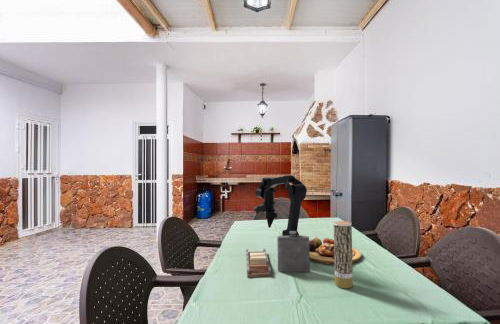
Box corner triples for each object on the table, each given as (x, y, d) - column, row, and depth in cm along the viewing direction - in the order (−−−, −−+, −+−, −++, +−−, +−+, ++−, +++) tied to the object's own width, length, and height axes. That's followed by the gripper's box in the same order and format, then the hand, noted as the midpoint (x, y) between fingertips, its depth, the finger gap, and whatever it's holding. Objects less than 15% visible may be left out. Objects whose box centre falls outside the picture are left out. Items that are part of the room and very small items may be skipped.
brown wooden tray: (246, 254, 149) (246, 247, 149) (265, 253, 149) (265, 246, 149) (247, 277, 119) (247, 268, 119) (271, 276, 119) (270, 268, 119)
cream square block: (250, 263, 132) (249, 253, 132) (264, 262, 132) (264, 252, 132) (250, 269, 125) (250, 258, 125) (266, 268, 125) (265, 257, 125)
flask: (278, 269, 127) (277, 230, 127) (309, 269, 126) (308, 230, 126) (278, 272, 124) (277, 232, 124) (310, 272, 122) (309, 232, 122)
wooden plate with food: (367, 268, 127) (367, 250, 127) (298, 263, 133) (298, 246, 134) (356, 248, 158) (356, 234, 158) (300, 245, 165) (300, 231, 165)
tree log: (338, 280, 114) (337, 220, 114) (355, 284, 110) (353, 222, 110) (332, 286, 109) (330, 223, 109) (349, 290, 105) (347, 225, 105)
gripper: (253, 197, 162) (253, 224, 162) (256, 202, 143) (256, 232, 143) (272, 197, 162) (272, 223, 162) (277, 202, 144) (277, 231, 144)
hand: (269, 227), depth 153 cm, fingers closed
